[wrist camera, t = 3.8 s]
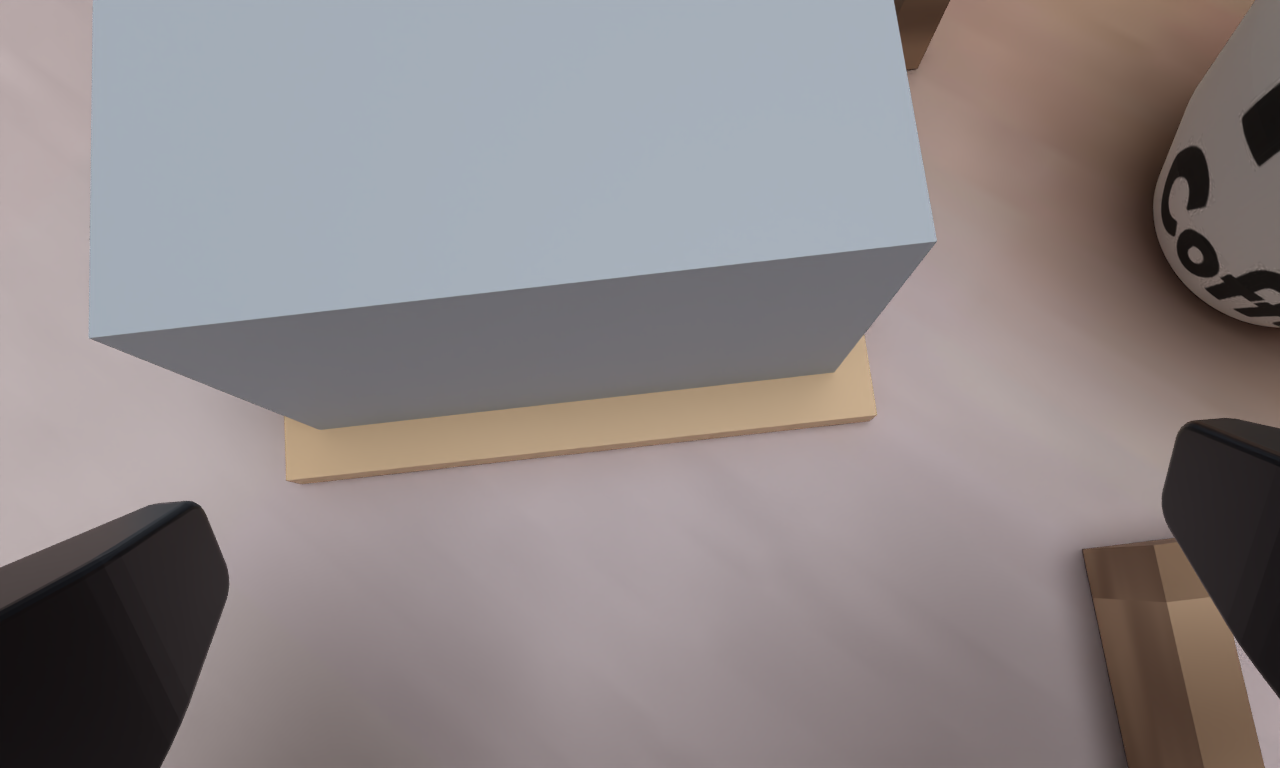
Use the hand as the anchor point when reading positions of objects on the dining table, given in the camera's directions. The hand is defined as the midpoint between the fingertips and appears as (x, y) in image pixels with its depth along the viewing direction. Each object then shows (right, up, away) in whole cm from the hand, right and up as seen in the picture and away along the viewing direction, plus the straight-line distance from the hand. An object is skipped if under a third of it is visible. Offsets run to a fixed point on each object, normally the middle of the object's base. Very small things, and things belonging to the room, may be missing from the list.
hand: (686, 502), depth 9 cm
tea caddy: (-2, +5, +13) cm, 14 cm away
